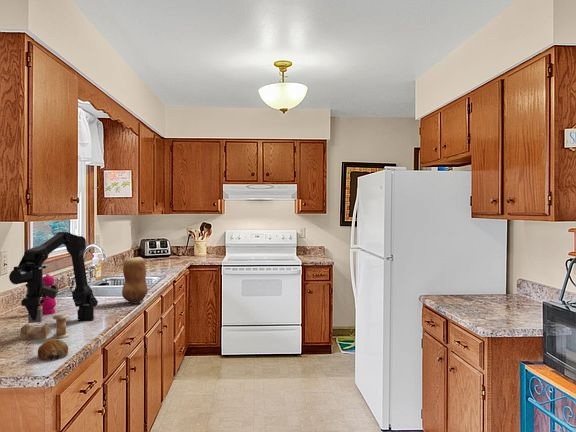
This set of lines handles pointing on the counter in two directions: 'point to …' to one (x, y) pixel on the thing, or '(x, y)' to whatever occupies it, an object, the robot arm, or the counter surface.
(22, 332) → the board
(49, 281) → the pepper mill
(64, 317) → the door knob
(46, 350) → the bread roll
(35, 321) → the block
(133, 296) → the butternut squash
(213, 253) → the counter surface
